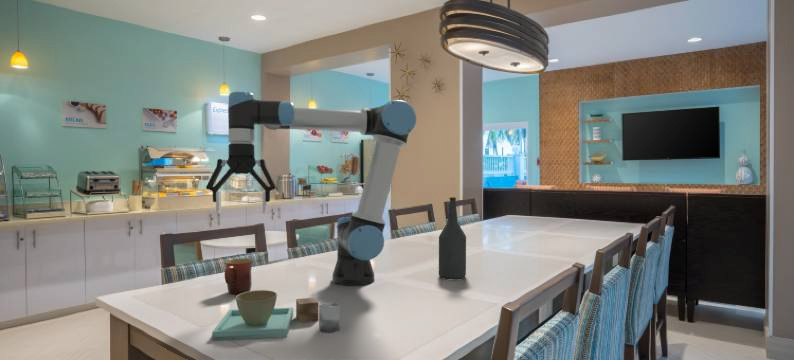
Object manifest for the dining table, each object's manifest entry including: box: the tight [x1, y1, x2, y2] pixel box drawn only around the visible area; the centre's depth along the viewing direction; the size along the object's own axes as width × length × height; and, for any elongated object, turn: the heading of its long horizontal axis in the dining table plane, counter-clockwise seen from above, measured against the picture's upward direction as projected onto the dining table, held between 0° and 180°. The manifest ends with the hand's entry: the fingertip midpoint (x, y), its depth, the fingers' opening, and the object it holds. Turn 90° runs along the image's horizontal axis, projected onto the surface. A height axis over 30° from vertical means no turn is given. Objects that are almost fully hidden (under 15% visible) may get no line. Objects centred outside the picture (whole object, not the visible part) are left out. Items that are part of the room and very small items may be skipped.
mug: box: [224, 257, 254, 296], centre depth 146 cm, size 12×9×10 cm
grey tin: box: [318, 302, 340, 334], centre depth 114 cm, size 5×5×6 cm
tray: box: [211, 306, 294, 341], centre depth 116 cm, size 17×17×2 cm
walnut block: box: [295, 297, 319, 324], centre depth 122 cm, size 5×5×5 cm
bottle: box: [438, 196, 467, 280], centre depth 170 cm, size 10×10×30 cm
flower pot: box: [235, 289, 278, 326], centre depth 116 cm, size 10×10×7 cm
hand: (241, 212), depth 139 cm, fingers open, 13 cm apart
